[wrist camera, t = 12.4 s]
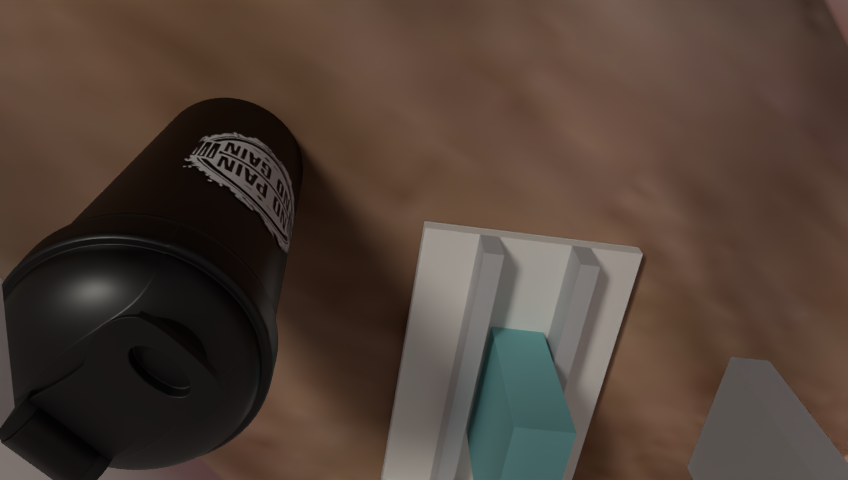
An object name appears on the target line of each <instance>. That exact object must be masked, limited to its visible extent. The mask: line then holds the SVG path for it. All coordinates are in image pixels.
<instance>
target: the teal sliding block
mask: <svg viewBox="0 0 848 480" xmlns="http://www.w3.org/2000/svg"><path fill="white" fill-rule="evenodd" d="M576 434H577V433H576V430H575V427H574V424H573V421H572V418H571V415H570V412H569V409H568V406H567V403H566V400H565V397H564V394H563V391H562V388H561V385H560V382H559V379H558V376H557V373H556V370H555V367H554V364H553V361H552V358H551V355H550V352H549V349H548V346H547V343H546V340H545V337H544V334H543V332H535V331H526V330H517V329H509V328H500V327H491V332H490V336H489V340H488V344H487V349H486V353H485V357H484V361H483V366H482V370H481V374H480V378H479V383H478V387H477V391H476V395H475V400H474V404H473V408H472V412H471V417H470V421H469V425H468V429H467V438H468V445H469V453H470V460H471V467H472V474H473V480H562V478H563V475H564V472H565V469H566V465H567V462H568V459H569V456H570V453H571V450H572V446H573V443H574V440H575V437H576Z"/></svg>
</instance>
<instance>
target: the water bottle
mask: <svg viewBox="0 0 848 480" xmlns="http://www.w3.org/2000/svg"><path fill="white" fill-rule="evenodd" d="M302 176H303V165H302V158H301V154H300V151H299V148H298V145H297V143H296V141H295V139H294V137H293V136H292V134H291V133H290V131H289V130H288V128H287V127H286V126H285V125H284V124H283V123H282V122H281V121H280V120H279V119H278V118H277V117H276V116H275V115H273V114H272V113H270V112H269V111H267V110H266V109H264V108H262V107H260V106H258V105H256V104H254V103H251V102H248V101H244V100H240V99H234V98H214V99H209V100H205V101H201V102H199V103H196V104H194V105H192V106H190V107H188V108H187V109H185V110H184V111H182V112H181V113H180V114H179V115H178V116H177V117H176V118H175V119H174V120H173V121H172V122H171V123H170V124H169V125H168V126H167V127H166V128H165V129H164V130H163V131H162V132H161V133H160V134H159V135H158V136H157V137H156V138H155V139H154V140H153V141H152V142H151V143H150V144H149V145H148V146H147V147H146V148H145V149H144V150H143V151H142V152H141V153H140V154H139V155H138V156H137V157H136V158H135V159H134V160H133V161H132V162H131V163H130V164H129V165H128V166H127V167H126V168H125V169H124V170H123V171H122V172H121V173H120V174H119V175H118V176H117V177H116V178H115V180H114V181H113V182H112V183H111V184H110V185H109V186H108V187H107V188H106V189H105V190H104V191H103V192H102V193H101V194H100V195H99V196H98V197H97V198H96V199H95V200H94V201H93V202H92V203H91V204H90V205H89V206H88V207H87V208H86V209H85V210H84V211H83V212H82V213H81V214H80V215H79V216H78V217H77V218H76V219H75V220H74V221H73V222H72V223H71V224H70V225H68V226H66V227H63V228H61V229H59V230H58V231H56V232H54V233H52V234H51V235H49V236H48V237H46V238H45V239H43V240H42V241H41V242H40V243H38V244H37V245H36V246H35V247H34V248H33V249H32V250H31V251H30V252H29V253H28V254H27V255H26V256H25V257H24V259H23V260H22V261H21V262H20V263H19V264H18V265H17V266H16V267H15V268H14V269H13V270H12V272H11V273H10V274H9V275H8V276H7V278H6V279H5V280H4V282H3V284H2V292H3V301H4V311H5V320H6V330H7V339H8V349H9V358H10V368H11V377H12V387H13V396H14V406H15V407H14V409H13V410H12V412H11V413H10V415H9V416H8V418H7V419H6V421H5V422H4V423H3V425H2V426H1V428H0V440H1V443H2V444H4V445H5V446H7V447H8V448H9V449H11V450H12V451H14V452H15V453H16V454H18V455H19V456H21V457H22V458H23V459H25V460H26V461H28V462H29V463H30V464H32V465H33V466H35V467H36V468H37V469H39V470H40V471H41V472H43V473H44V474H46V475H47V476H48V477H50V478H51V479H53V480H97V479H98V478H99V477H100V476H101V475H102V474H103V472H104V471H105V470H106V469H107V467H110V468H117V469H127V470H146V469H157V468H163V467H168V466H173V465H177V464H180V463H183V462H186V461H189V460H191V459H194V458H196V457H199V456H202V455H204V454H207V453H209V452H211V451H214V450H216V449H218V448H219V447H221V446H223V445H225V444H226V443H228V442H229V441H231V440H232V439H234V438H235V437H236V436H237V435H239V434H240V433H241V432H242V431H243V430H244V429H245V428H246V427H247V426H248V425H249V424H250V423H251V421H252V420H253V419H254V418H255V416H256V415H257V413H258V412H259V410H260V408H261V406H262V405H263V403H264V401H265V398H266V396H267V394H268V391H269V388H270V384H271V380H272V376H273V371H274V367H275V362H276V357H277V351H278V331H277V324H276V313H277V308H278V302H279V297H280V292H281V287H282V282H283V276H284V271H285V266H286V261H287V256H288V252H289V251H288V250H289V246H290V240H291V237H292V230H293V224H294V219H295V214H296V209H297V204H298V198H299V193H300V188H301V183H302Z"/></svg>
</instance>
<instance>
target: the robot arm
mask: <svg viewBox="0 0 848 480" xmlns="http://www.w3.org/2000/svg"><path fill="white" fill-rule="evenodd" d="M14 407H15V406H14V396H13V387H12V377H11V368H10V358H9V349H8V339H7V330H6V320H5V311H4V301H3V292H2V282H1V279H0V428H1V426H2V425H3V423H4V422H5V421H6V419H7V418H8V416H9V415H10V413H11V412H12V410H13V409H14ZM687 469H688V471H689V473H690V475H691V477H692V479H693V480H848V463H847V461H846V460H845V459H844V457H843V456H842V455H841V453H840V452H839V451H838V450H837V448H836V447H835V446H834V444H833V443H832V442H831V440H830V439H829V438H828V437H827V435H826V434H825V433H824V431H823V430H822V429H821V427H820V426H819V425H818V424H817V422H816V421H815V420H814V418H813V417H812V416H811V414H810V413H809V412H808V411H807V409H806V408H805V407H804V405H803V404H802V403H801V401H800V400H799V399H798V398H797V396H796V395H795V394H794V392H793V391H792V390H791V388H790V387H789V386H788V385H787V383H786V382H785V381H784V379H783V378H782V377H781V375H780V374H779V373H778V372H777V370H776V369H775V368H774V366H773V365H772V364H771V362H770V361H767V360H758V359H748V358H739V357H731V358H730V360H729V363H728V365H727V368H726V370H725V373H724V375H723V378H722V380H721V383H720V385H719V388H718V390H717V393H716V396H715V398H714V401H713V403H712V406H711V408H710V411H709V413H708V416H707V418H706V421H705V423H704V426H703V428H702V431H701V433H700V436H699V438H698V441H697V443H696V446H695V448H694V451H693V453H692V456H691V458H690V461H689V463H688V466H687Z"/></svg>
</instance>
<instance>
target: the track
mask: <svg viewBox="0 0 848 480" xmlns="http://www.w3.org/2000/svg"><path fill="white" fill-rule="evenodd" d="M642 256H643V254H642V252H641V251H640V249H639V248H638V247H633V246H625V245H616V244H608V243H600V242H592V241H584V240H576V239H567V238H559V237H551V236H543V235H535V234H526V233H518V232H510V231H502V230H494V229H485V228H477V227H469V226H461V225H453V224H445V223H436V222H428V221H424V226H423V232H422V238H421V244H420V250H419V256H418V262H417V268H416V273H415V279H414V285H413V291H412V297H411V303H410V309H409V315H408V321H407V327H406V333H405V339H404V344H403V350H402V356H401V362H400V368H399V374H398V380H397V386H396V392H395V398H394V404H393V410H392V415H391V421H390V427H389V433H388V439H387V445H386V451H385V457H384V463H383V469H382V475H381V480H473V474H472V467H471V460H470V453H469V445H468V438H467V429H468V425H469V421H470V417H471V412H472V408H473V404H474V400H475V395H476V391H477V387H478V383H479V378H480V374H481V370H482V366H483V361H484V357H485V353H486V349H487V344H488V340H489V336H490V332H491V327H500V328H509V329H517V330H526V331H535V332H543V334H544V337H545V340H546V343H547V346H548V349H549V352H550V355H551V358H552V361H553V364H554V367H555V370H556V373H557V376H558V379H559V382H560V385H561V388H562V391H563V394H564V397H565V400H566V403H567V406H568V409H569V412H570V415H571V418H572V421H573V424H574V427H575V430H576V433H577V434H576V437H575V440H574V443H573V446H572V450H571V453H570V456H569V459H568V462H567V465H566V469H565V472H564V475H563V478H562V480H572V478H573V475H574V472H575V469H576V466H577V462H578V459H579V456H580V453H581V450H582V447H583V443H584V440H585V437H586V434H587V431H588V427H589V424H590V421H591V418H592V415H593V412H594V408H595V405H596V402H597V399H598V396H599V392H600V389H601V386H602V383H603V380H604V377H605V373H606V370H607V367H608V364H609V361H610V357H611V354H612V351H613V348H614V345H615V342H616V338H617V335H618V332H619V329H620V326H621V322H622V319H623V316H624V313H625V310H626V307H627V303H628V300H629V297H630V294H631V291H632V287H633V284H634V281H635V278H636V275H637V272H638V268H639V265H640V262H641V259H642Z"/></svg>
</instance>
